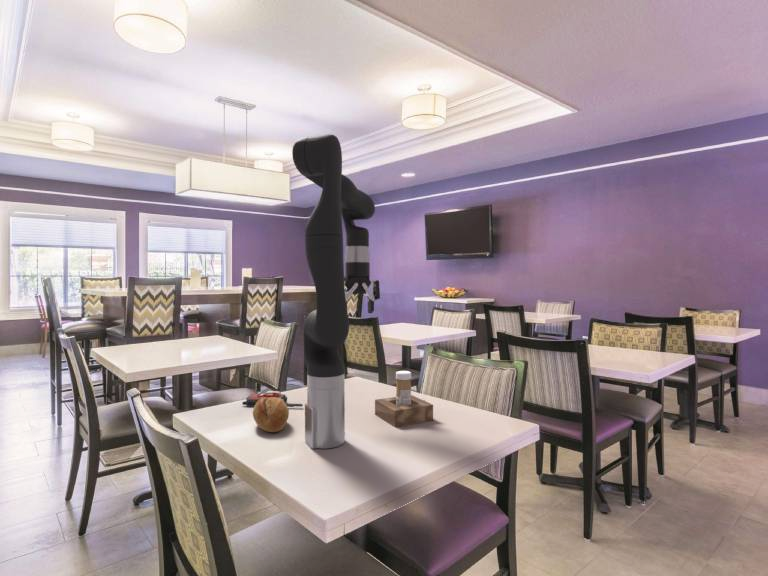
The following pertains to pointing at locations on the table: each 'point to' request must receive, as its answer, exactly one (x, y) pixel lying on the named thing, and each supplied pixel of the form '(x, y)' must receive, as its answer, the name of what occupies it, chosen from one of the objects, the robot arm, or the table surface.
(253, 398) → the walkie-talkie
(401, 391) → the sprinkles bottle
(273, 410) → the bread roll
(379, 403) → the walnut bottle stand
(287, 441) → the table surface
